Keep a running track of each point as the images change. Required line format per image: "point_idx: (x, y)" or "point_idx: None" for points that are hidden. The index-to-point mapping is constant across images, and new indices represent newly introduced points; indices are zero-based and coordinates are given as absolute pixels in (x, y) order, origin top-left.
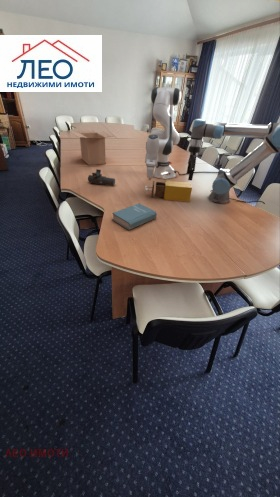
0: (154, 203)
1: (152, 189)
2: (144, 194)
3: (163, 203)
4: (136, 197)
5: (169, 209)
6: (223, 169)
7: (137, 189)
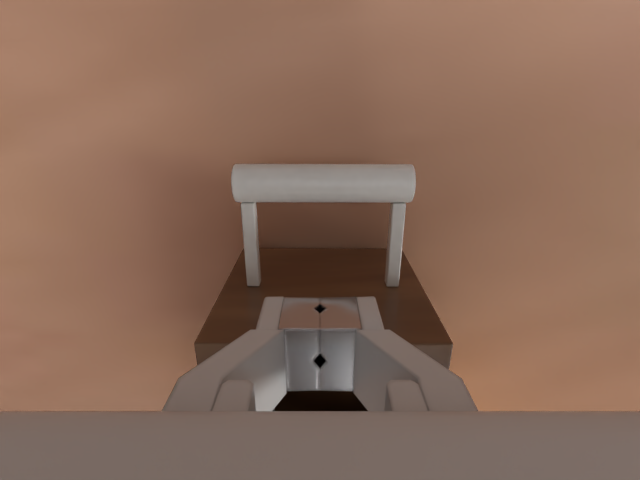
0: (110, 279)
1: (217, 303)
2: (342, 149)
3: (149, 362)
4: (206, 35)
5: (39, 406)
6: None
7: (524, 20)
